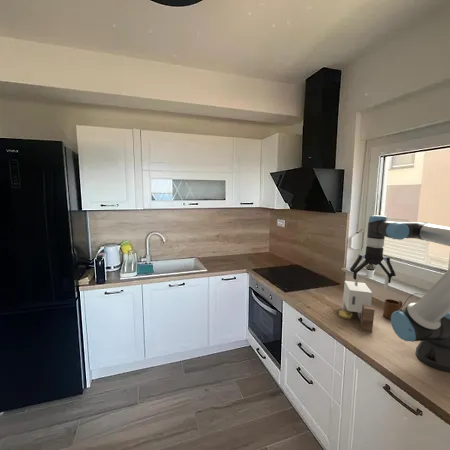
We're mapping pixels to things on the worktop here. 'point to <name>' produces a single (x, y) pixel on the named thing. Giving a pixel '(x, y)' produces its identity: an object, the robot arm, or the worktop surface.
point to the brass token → (345, 314)
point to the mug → (391, 307)
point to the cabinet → (356, 296)
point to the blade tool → (366, 318)
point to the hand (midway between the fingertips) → (370, 287)
